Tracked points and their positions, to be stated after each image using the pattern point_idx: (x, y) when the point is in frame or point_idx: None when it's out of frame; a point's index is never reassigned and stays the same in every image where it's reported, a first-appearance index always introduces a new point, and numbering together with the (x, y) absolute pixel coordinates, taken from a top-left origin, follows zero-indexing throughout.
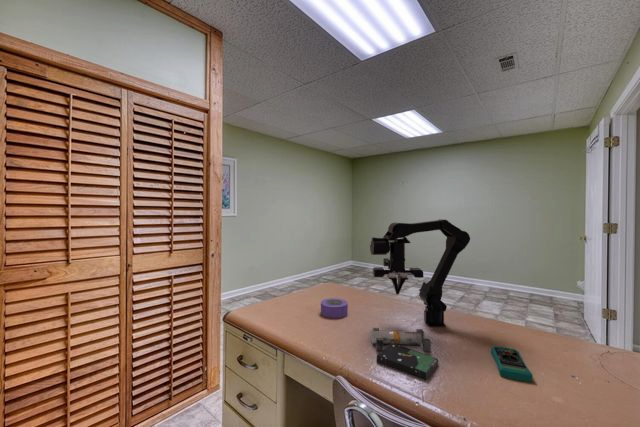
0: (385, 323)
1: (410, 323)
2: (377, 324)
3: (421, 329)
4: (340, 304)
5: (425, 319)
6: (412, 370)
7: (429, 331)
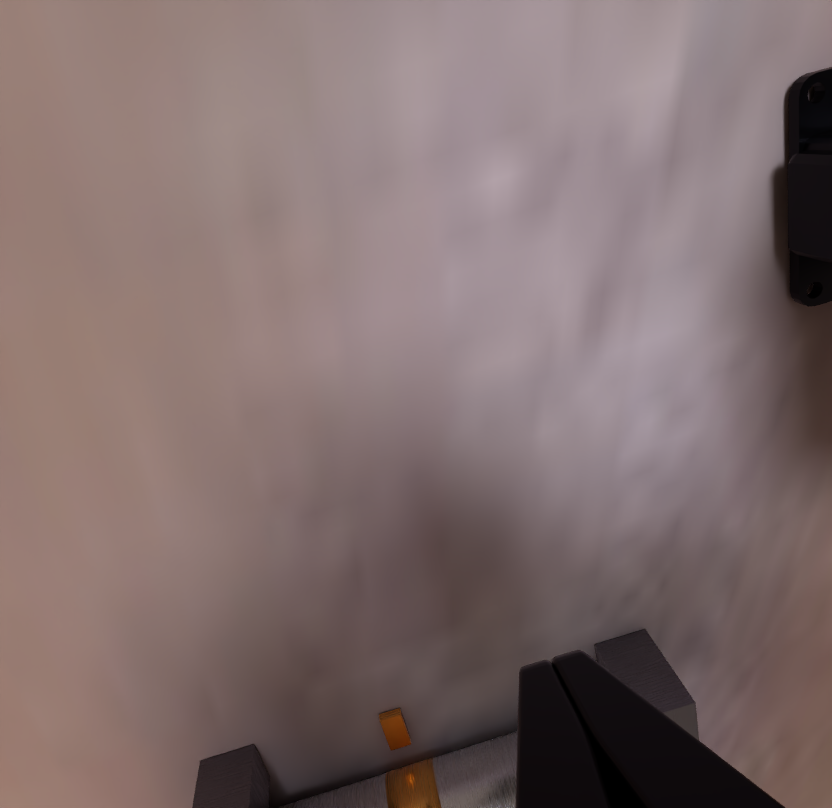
0: (256, 387)
1: (582, 275)
2: (159, 454)
3: (686, 709)
4: None
5: (811, 239)
6: None
7: (754, 439)
